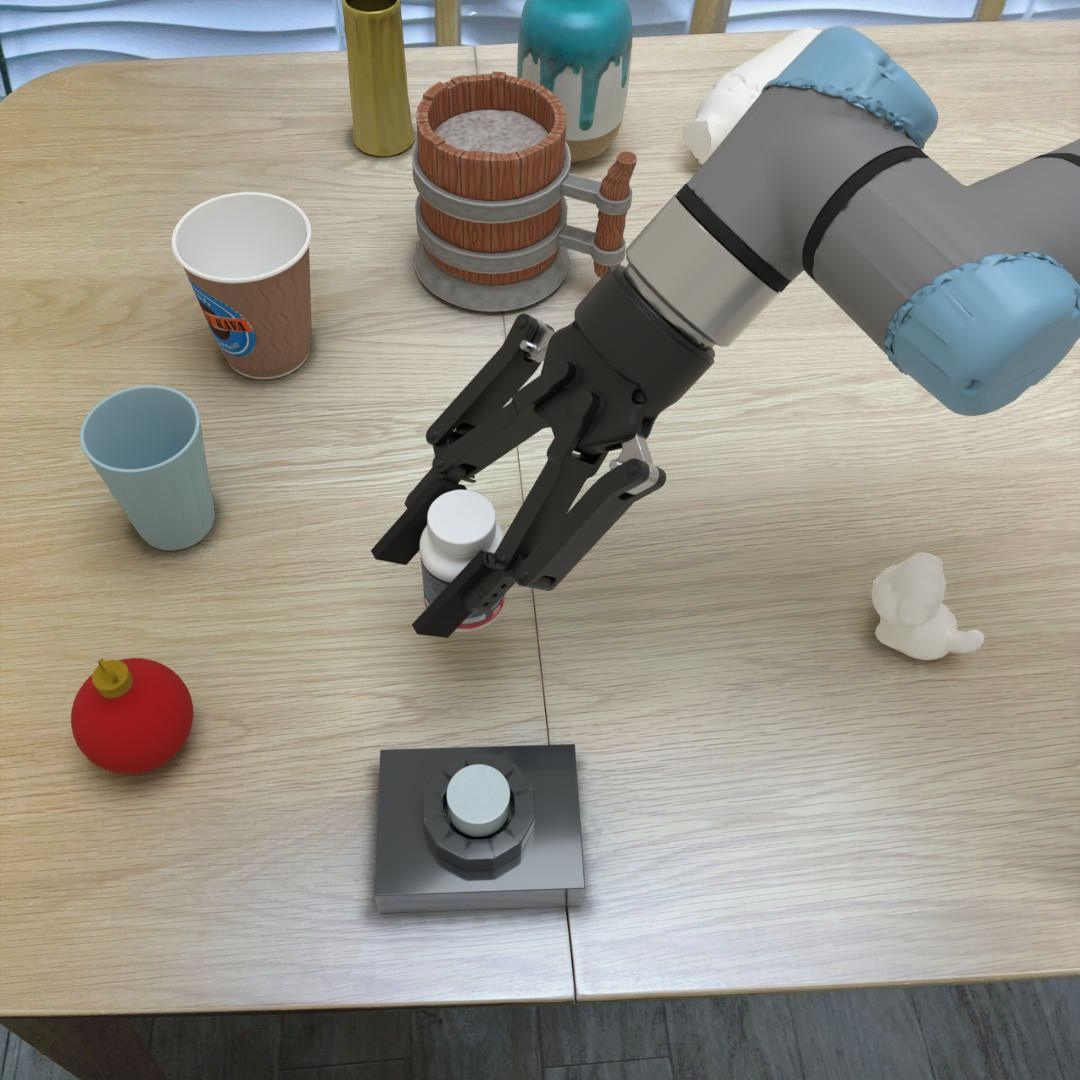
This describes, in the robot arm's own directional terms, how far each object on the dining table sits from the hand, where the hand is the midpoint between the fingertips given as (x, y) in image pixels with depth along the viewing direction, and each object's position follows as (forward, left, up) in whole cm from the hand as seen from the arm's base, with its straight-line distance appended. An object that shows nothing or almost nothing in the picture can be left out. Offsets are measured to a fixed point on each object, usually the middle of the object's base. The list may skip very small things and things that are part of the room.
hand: (409, 593), depth 67 cm
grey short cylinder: (-11, +6, -5) cm, 13 cm away
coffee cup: (+31, -12, -10) cm, 35 cm away
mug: (+23, -34, -10) cm, 42 cm away
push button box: (-11, +6, -9) cm, 16 cm away
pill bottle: (-1, -3, -4) cm, 5 cm away
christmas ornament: (+9, +16, -10) cm, 20 cm away
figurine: (-23, -25, -10) cm, 36 cm away
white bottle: (+19, -66, -10) cm, 70 cm away
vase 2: (+32, -51, -10) cm, 61 cm away
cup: (+22, +4, -10) cm, 24 cm away
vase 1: (+46, -39, -10) cm, 61 cm away
